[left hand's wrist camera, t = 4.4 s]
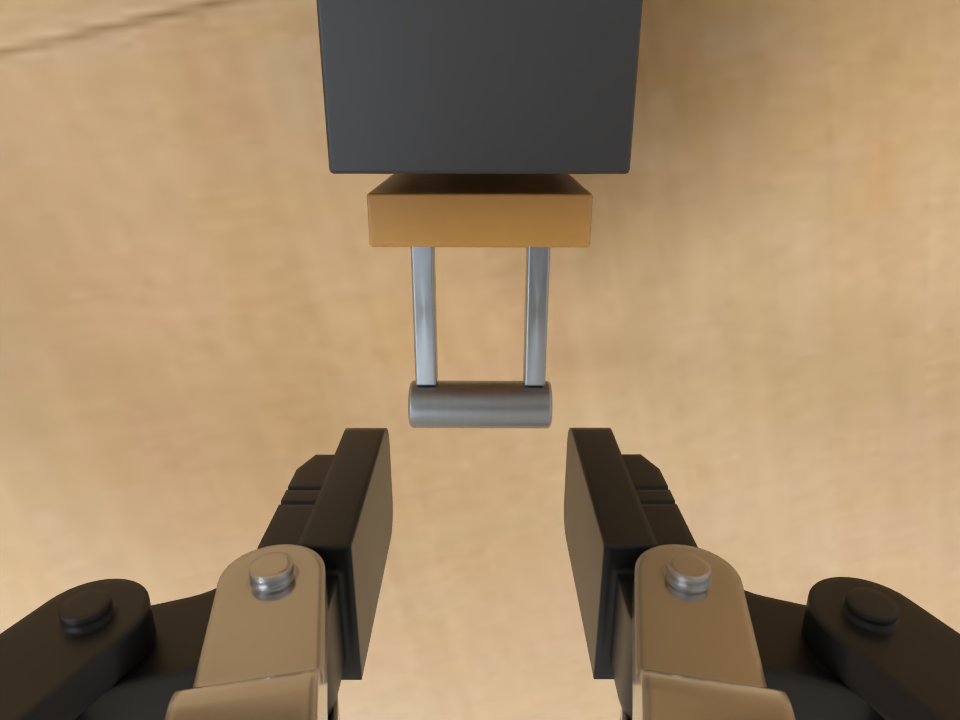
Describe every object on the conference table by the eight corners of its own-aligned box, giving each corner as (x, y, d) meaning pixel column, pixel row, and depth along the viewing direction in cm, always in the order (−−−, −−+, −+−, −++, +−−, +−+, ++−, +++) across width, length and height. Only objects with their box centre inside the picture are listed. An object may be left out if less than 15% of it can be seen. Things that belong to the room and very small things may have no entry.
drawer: (547, 352, 26) (576, 474, 17) (416, 352, 26) (382, 473, 18) (573, -348, 19) (646, -722, 10) (391, -347, 19) (312, -719, 10)
